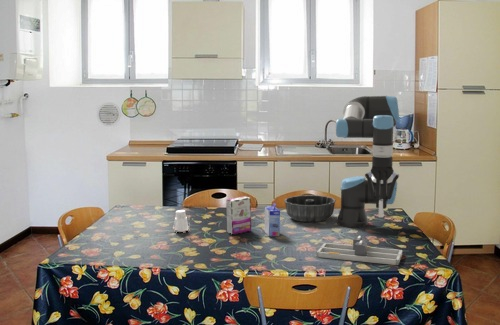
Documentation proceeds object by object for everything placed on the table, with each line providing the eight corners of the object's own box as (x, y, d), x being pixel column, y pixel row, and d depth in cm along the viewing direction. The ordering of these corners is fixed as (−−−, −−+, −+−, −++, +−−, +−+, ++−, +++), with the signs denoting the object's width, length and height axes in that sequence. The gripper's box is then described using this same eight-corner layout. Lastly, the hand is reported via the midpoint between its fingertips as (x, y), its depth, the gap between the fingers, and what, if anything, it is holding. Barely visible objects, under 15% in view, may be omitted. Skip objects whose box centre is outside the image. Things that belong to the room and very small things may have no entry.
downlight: (191, 229, 276) (190, 209, 275) (188, 233, 269) (187, 212, 268) (175, 229, 277) (173, 209, 276) (172, 233, 270) (170, 213, 269)
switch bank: (324, 249, 241) (324, 241, 240) (402, 257, 229) (402, 249, 229) (316, 259, 228) (316, 251, 227) (398, 268, 217) (398, 259, 216)
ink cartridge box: (280, 236, 262) (280, 205, 260) (268, 237, 261) (268, 206, 259) (275, 230, 272) (275, 201, 269) (264, 231, 271) (263, 201, 268)
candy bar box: (245, 229, 275) (245, 195, 273) (251, 231, 271) (251, 197, 269) (226, 233, 269) (225, 199, 266) (232, 235, 265) (231, 200, 262)
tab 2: (356, 256, 228) (356, 239, 227) (366, 257, 226) (366, 240, 225) (354, 259, 224) (354, 242, 223) (364, 260, 222) (365, 243, 221)
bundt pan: (277, 214, 303) (277, 196, 302) (322, 210, 311) (322, 193, 309) (295, 227, 278) (295, 207, 277) (344, 222, 286) (344, 203, 284)
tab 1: (355, 250, 235) (355, 235, 234) (364, 251, 233) (365, 235, 232) (353, 254, 230) (353, 237, 229) (362, 255, 229) (363, 238, 228)
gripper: (363, 156, 215) (362, 217, 219) (398, 157, 211) (397, 220, 214) (367, 154, 222) (365, 213, 226) (401, 155, 217) (399, 215, 221)
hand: (381, 216), depth 220 cm, fingers closed
